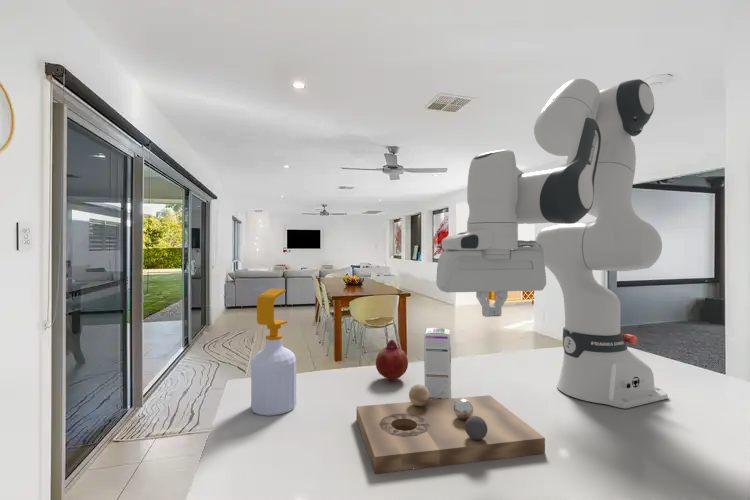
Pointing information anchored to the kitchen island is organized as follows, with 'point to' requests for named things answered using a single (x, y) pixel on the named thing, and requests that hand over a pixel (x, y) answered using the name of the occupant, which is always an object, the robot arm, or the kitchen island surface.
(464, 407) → the steel ball
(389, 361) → the fruit
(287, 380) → the soap bottle
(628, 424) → the kitchen island surface
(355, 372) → the kitchen island surface
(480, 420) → the black rubber ball
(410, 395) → the beech ball
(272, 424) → the kitchen island surface
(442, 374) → the syrup box
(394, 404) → the board
